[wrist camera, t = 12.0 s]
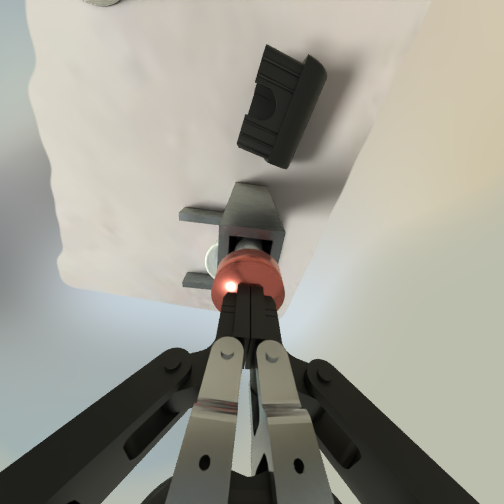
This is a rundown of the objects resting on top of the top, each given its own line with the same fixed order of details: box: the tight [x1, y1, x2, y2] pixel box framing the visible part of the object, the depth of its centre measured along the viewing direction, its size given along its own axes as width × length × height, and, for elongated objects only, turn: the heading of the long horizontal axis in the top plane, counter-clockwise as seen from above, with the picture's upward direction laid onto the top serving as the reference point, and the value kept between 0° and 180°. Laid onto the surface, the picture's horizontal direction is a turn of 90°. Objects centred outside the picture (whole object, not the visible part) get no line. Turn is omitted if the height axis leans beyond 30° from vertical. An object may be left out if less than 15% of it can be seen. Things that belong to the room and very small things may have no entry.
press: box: [179, 182, 285, 290], centre depth 27 cm, size 19×14×18 cm
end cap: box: [237, 44, 327, 169], centre depth 23 cm, size 10×7×7 cm
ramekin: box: [205, 238, 219, 279], centre depth 34 cm, size 9×9×4 cm
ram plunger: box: [211, 236, 285, 312], centre depth 16 cm, size 4×4×11 cm
